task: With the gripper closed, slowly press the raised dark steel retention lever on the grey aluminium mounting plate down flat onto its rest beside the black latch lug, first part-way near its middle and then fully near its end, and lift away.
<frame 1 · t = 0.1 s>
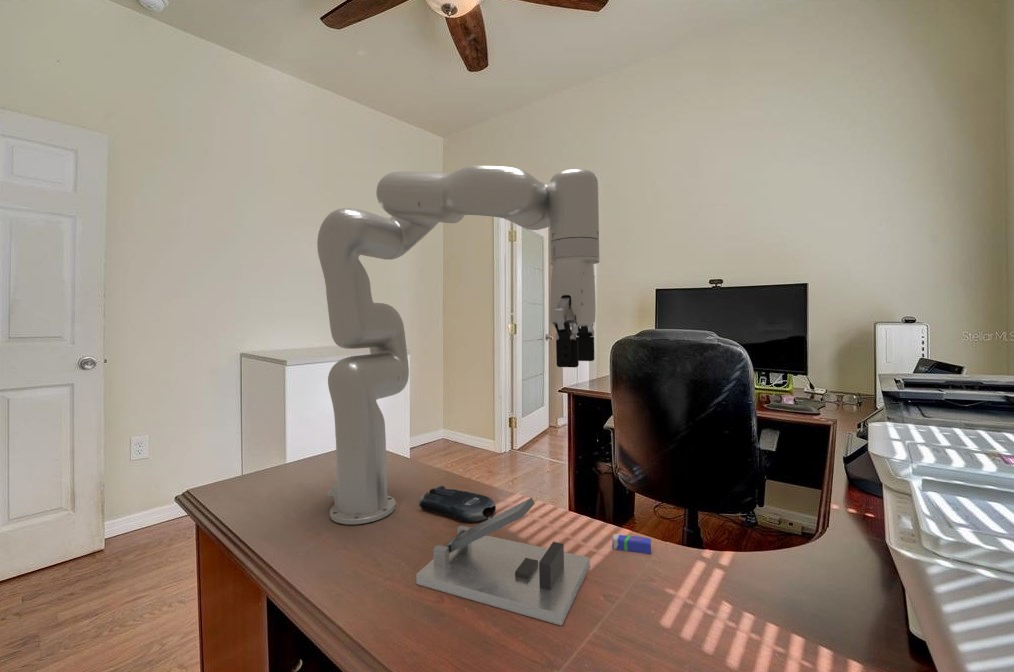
hand: (576, 363, 68), 31 cm above the table, tool pointing down, fingers open, 9 cm apart
electronic device: (460, 512, 88), on the table
mounting plate: (505, 575, 65), on the table
eraser: (631, 551, 72), on the table
retention lever: (486, 527, 66), point 7 cm above the table, hinge at 32.0°
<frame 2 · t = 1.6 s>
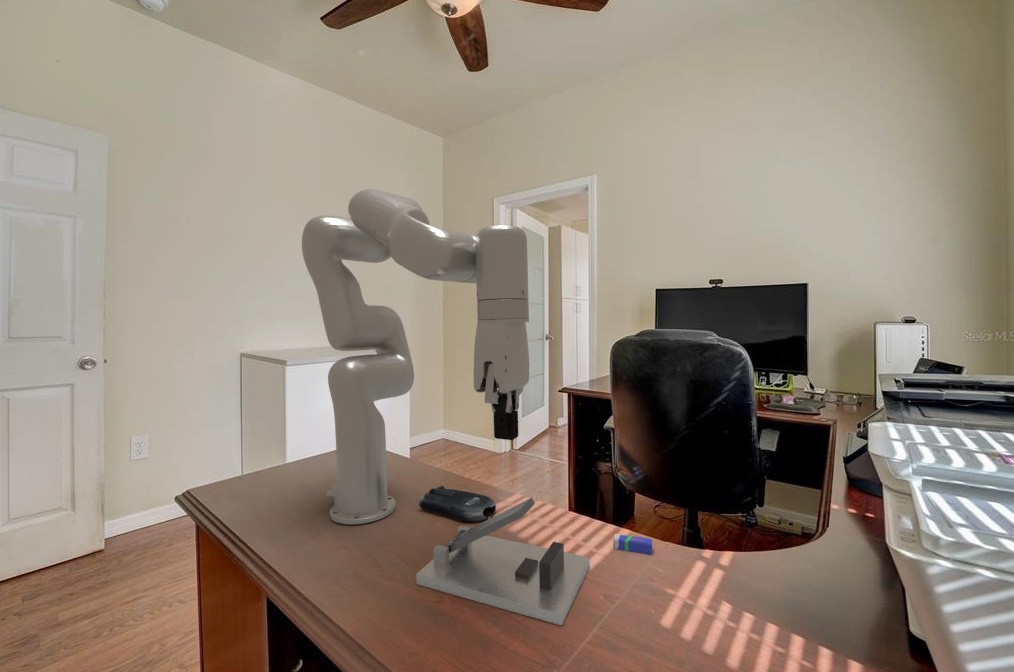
hand: (506, 437, 64), 21 cm above the table, tool pointing down, fingers closed
nothing on the table moved.
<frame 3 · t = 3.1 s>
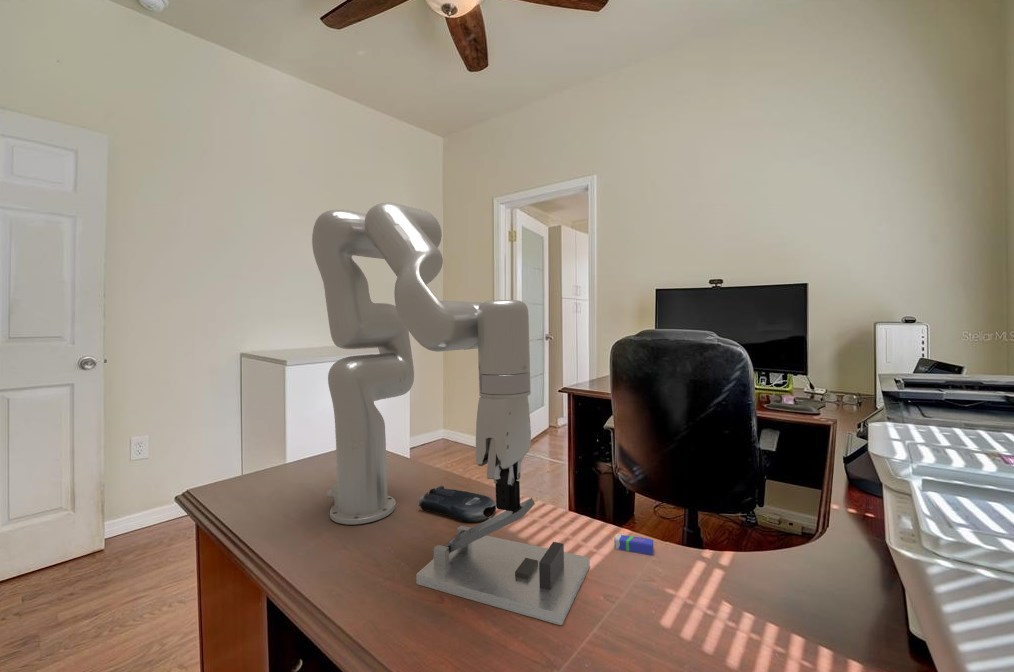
hand: (508, 507, 64), 10 cm above the table, tool pointing down, fingers closed
retention lever: (486, 527, 66), point 7 cm above the table, hinge at 31.9°, touching gripper
everything else where it was.
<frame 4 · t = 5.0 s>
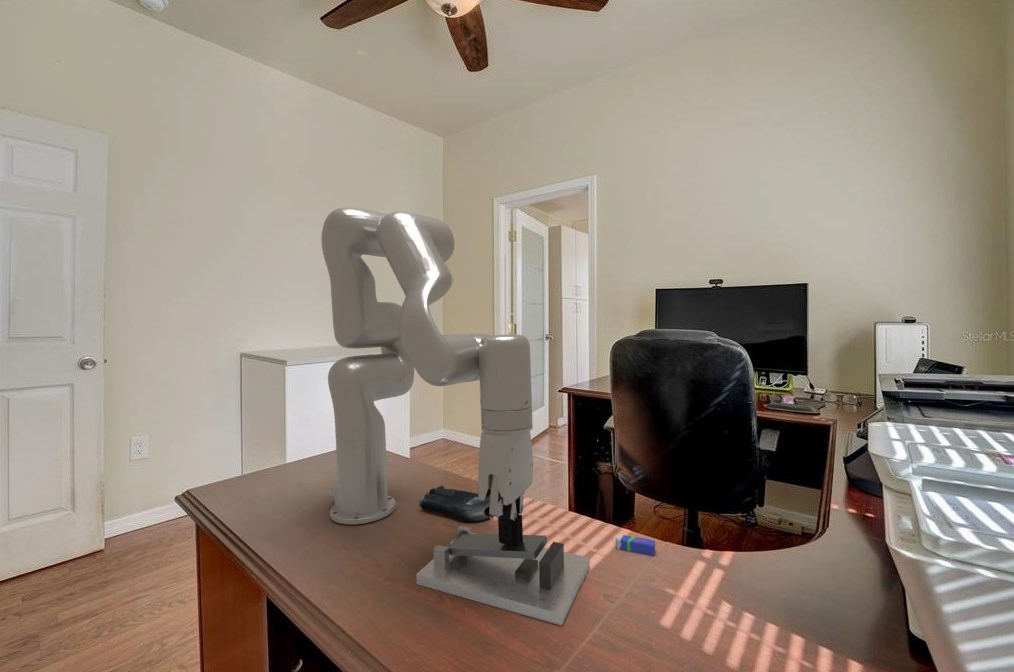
hand: (510, 542, 64), 5 cm above the table, tool pointing down, fingers closed
retention lever: (493, 545, 66), point 4 cm above the table, hinge at 9.6°, touching gripper
everything else where it was.
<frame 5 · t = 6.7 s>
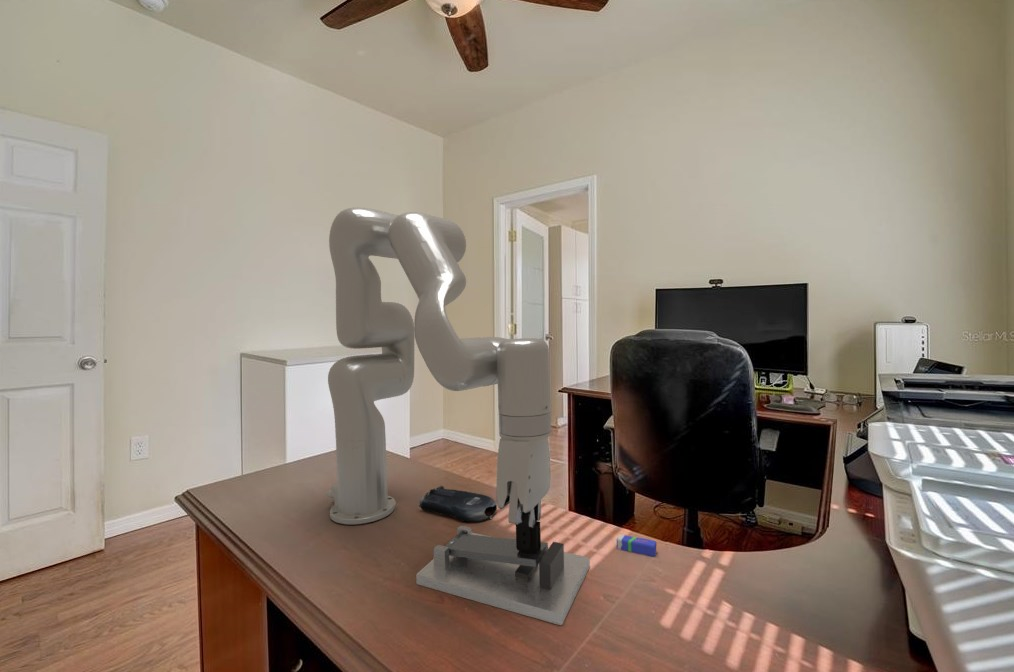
hand: (528, 549, 63), 5 cm above the table, tool pointing down, fingers closed
retention lever: (493, 548, 66), point 4 cm above the table, hinge at 5.4°, touching gripper
everything else where it was.
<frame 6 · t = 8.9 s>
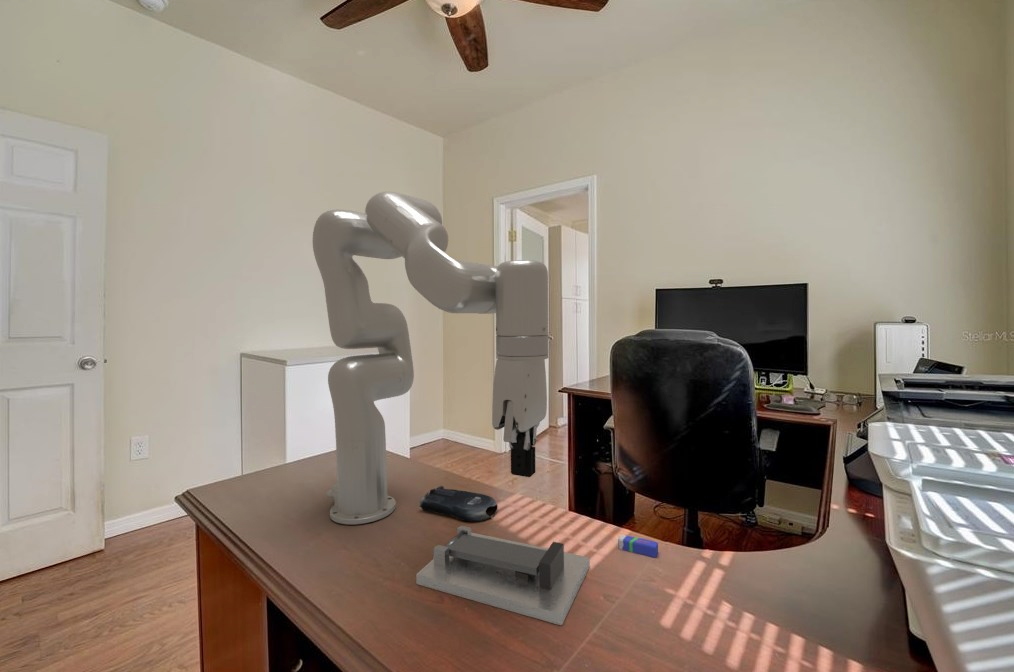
hand: (523, 473, 63), 16 cm above the table, tool pointing down, fingers closed
retention lever: (493, 552, 66), point 3 cm above the table, hinge at 0.9°
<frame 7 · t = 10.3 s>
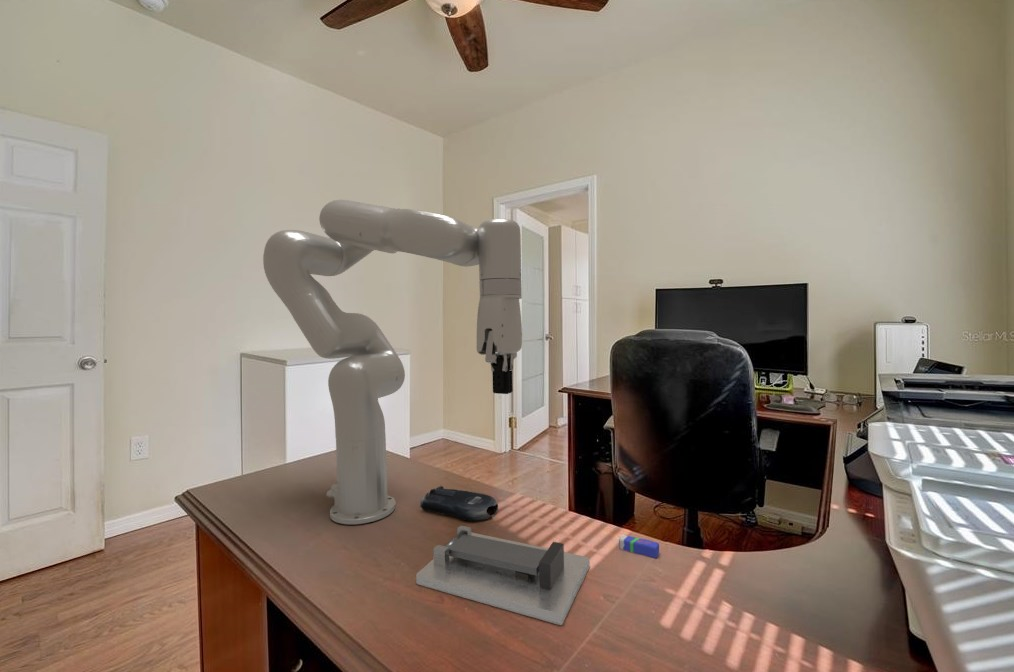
hand: (502, 392, 78), 25 cm above the table, tool pointing down, fingers closed
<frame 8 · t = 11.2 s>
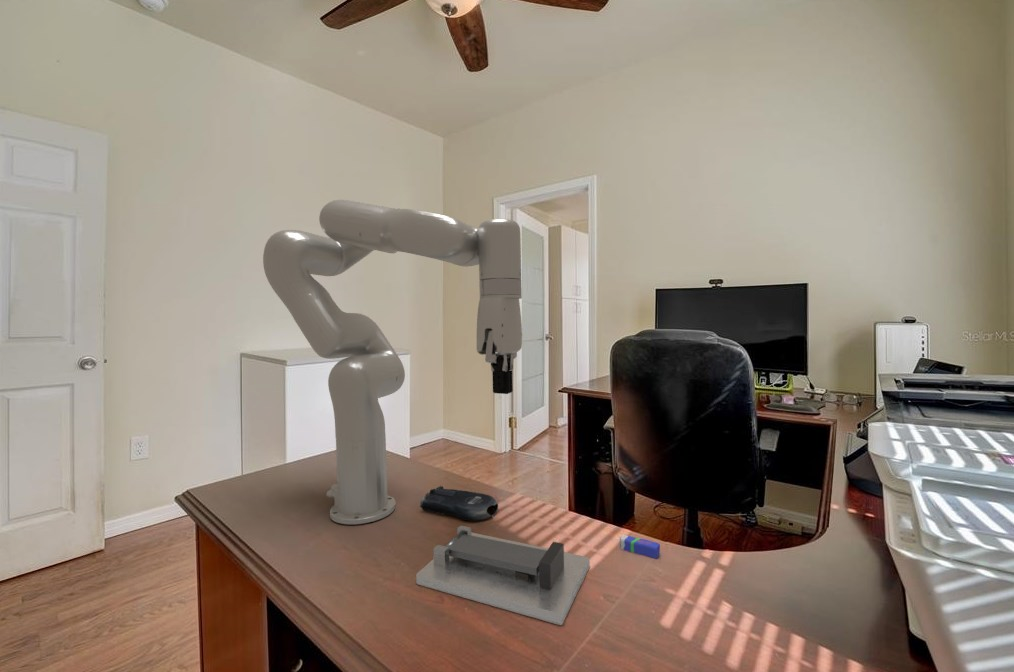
hand: (502, 392, 78), 25 cm above the table, tool pointing down, fingers closed
at the end: retention lever at +1° (first picture: +32°) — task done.
